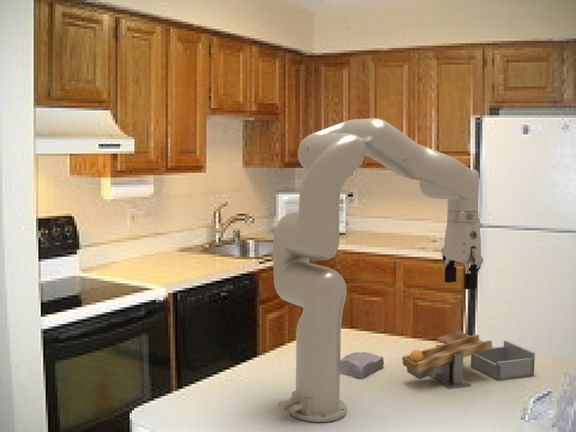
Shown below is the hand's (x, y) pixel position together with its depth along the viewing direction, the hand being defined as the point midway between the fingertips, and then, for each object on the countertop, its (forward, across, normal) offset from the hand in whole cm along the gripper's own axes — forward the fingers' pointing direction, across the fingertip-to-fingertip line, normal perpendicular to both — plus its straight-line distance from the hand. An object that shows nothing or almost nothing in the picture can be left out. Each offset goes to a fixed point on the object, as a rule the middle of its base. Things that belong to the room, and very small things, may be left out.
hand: (460, 285), depth 162 cm
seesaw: (+18, -3, +7) cm, 20 cm away
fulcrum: (+22, -6, +7) cm, 24 cm away
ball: (+15, -6, +16) cm, 23 cm away
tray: (+22, -5, -10) cm, 25 cm away
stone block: (+23, +8, +25) cm, 35 cm away
